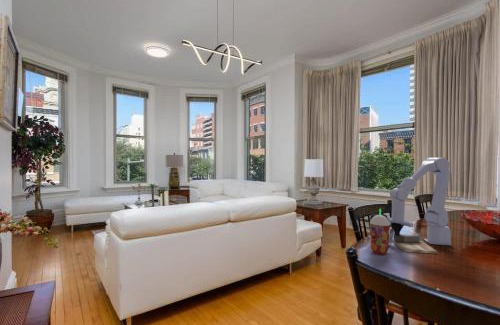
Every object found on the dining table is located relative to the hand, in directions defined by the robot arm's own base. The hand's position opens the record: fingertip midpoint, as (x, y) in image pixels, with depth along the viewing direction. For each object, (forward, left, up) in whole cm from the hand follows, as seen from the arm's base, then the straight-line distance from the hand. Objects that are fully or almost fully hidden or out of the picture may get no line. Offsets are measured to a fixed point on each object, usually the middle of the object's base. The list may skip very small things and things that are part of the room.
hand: (397, 238), depth 137 cm
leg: (-4, +2, -1) cm, 5 cm away
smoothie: (+14, +19, -3) cm, 24 cm away
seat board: (-5, +6, -2) cm, 8 cm away
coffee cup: (+11, +7, -3) cm, 13 cm away
